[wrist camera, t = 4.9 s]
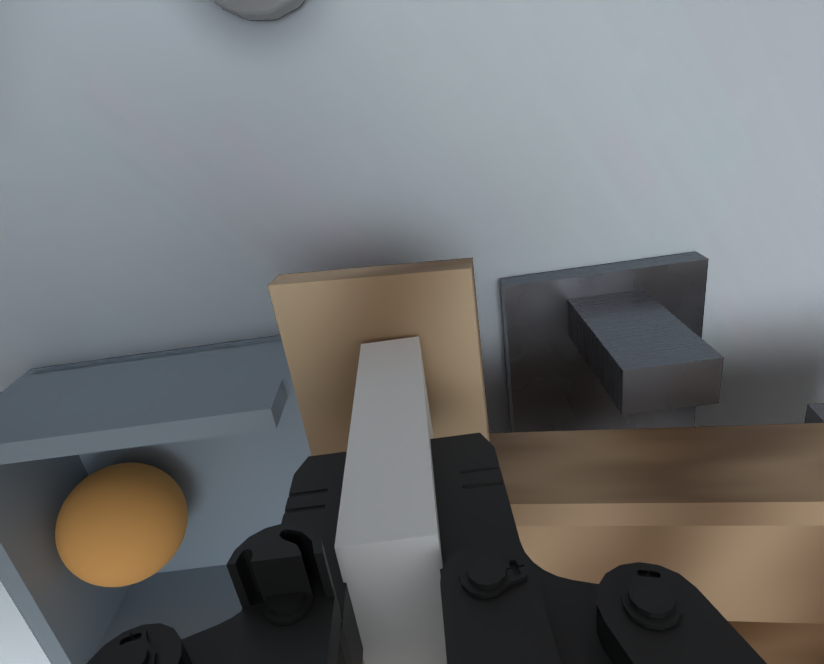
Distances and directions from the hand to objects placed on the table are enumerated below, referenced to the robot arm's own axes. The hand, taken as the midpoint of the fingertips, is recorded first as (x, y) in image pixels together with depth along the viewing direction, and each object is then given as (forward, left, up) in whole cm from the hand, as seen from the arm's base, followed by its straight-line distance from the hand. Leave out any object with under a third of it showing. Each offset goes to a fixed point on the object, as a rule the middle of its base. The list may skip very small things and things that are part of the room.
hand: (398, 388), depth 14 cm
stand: (+8, -8, -10) cm, 15 cm away
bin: (-10, -8, -10) cm, 16 cm away
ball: (-13, -8, -6) cm, 17 cm away
